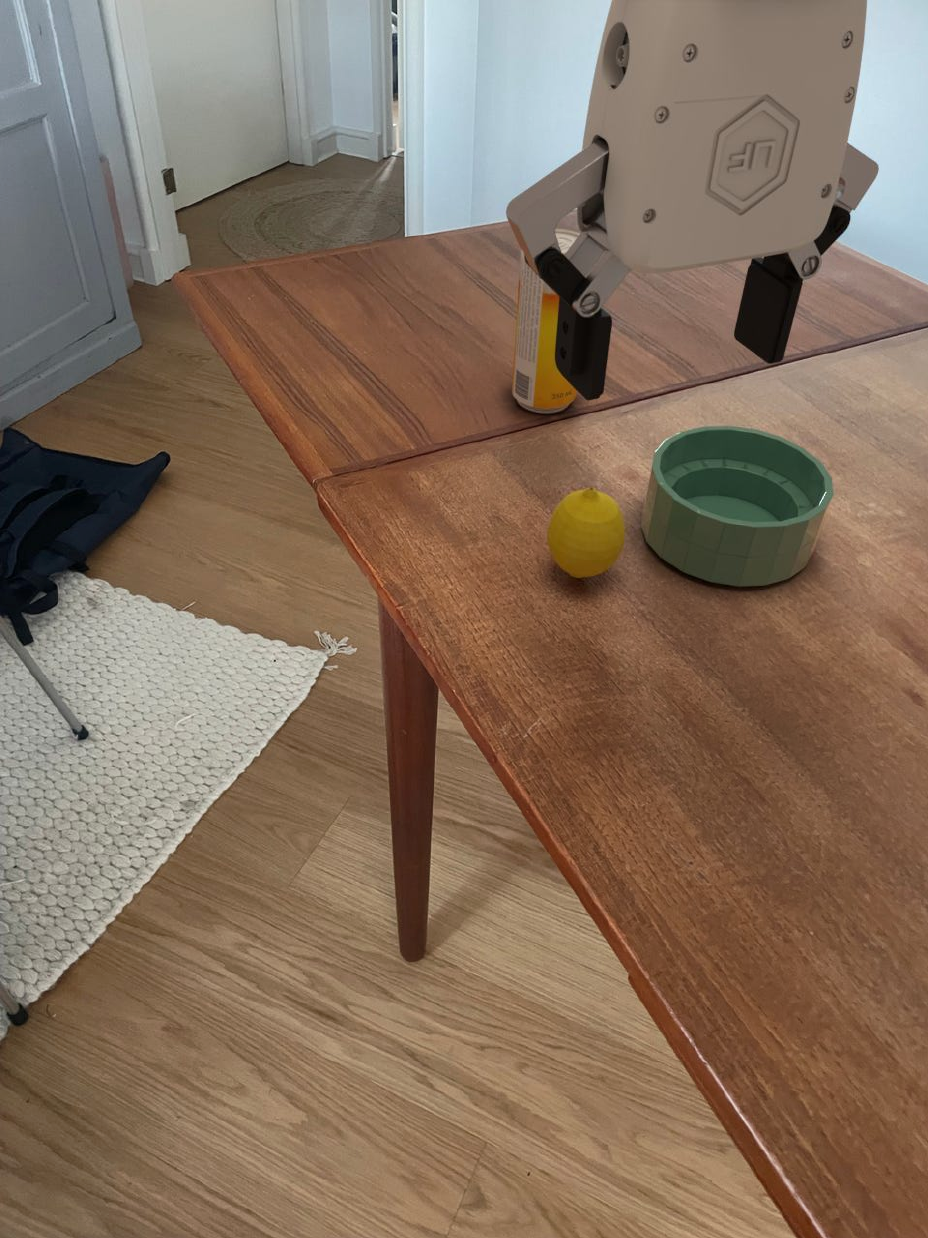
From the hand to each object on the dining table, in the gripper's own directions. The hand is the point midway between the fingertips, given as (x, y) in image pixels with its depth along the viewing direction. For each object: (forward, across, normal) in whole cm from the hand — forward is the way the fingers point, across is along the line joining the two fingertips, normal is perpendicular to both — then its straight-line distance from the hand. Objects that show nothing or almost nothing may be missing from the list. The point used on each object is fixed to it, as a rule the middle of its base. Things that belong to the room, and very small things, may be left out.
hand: (670, 367), depth 44 cm
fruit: (+24, +4, +12) cm, 27 cm away
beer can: (+24, +13, +37) cm, 45 cm away
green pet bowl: (+24, +17, +13) cm, 32 cm away
